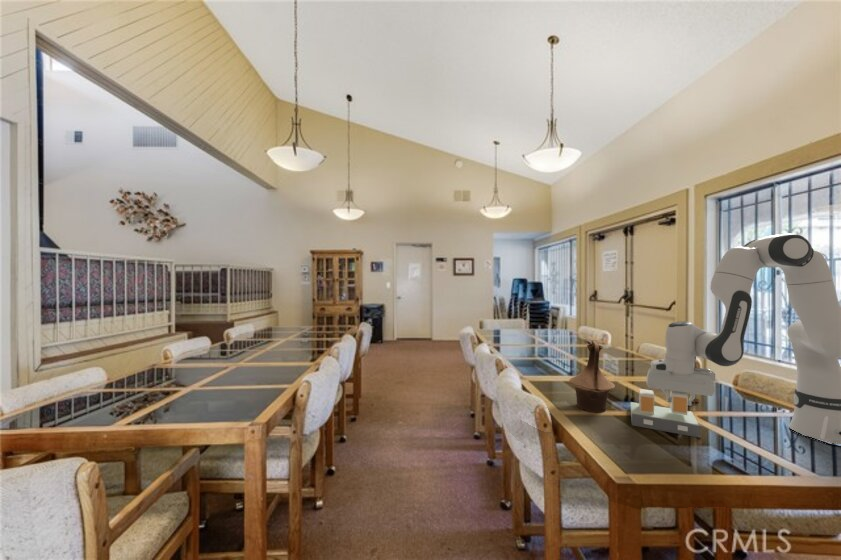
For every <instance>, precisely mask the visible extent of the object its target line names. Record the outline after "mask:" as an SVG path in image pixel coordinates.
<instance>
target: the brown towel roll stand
mask: <svg viewBox="0 0 841 560" xmlns="http://www.w3.org/2000/svg"><path fill="white" fill-rule="evenodd" d="M584 341H585V342H586V343H587V345H586V347H587V349H588V351H589V353H588V361H587V364H586V366H585V368H584V369H583V370H582V371H581V372H580V373H579V374H577V375H575V376H573V377H571V378H569V379H568V380H569V383H570V384H572V385H573V386H574V389H575V397H576V406H577V408H579V409H581V410H583V409H585V410H584V411H587V410H589V411H588V412H591V411H593V412H594V413H603V412H605V411H606V409H607V401H608V396H609V393H610V390H613V389H614V388H615V387H616V385H615V384H614V383H613V382H612V381H610V379H608V378H607V377H606V376H605V375H604V374H603V372H602V371H601V369H600V367H599V366H600V365H599V362H600V352H601V350H602V349H603V345H601V344H599V341H598V340H595V339H584ZM593 412H592V413H593Z"/></svg>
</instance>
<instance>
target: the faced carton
mask: <svg viewBox="0 0 841 560" xmlns="http://www.w3.org/2000/svg"><path fill="white" fill-rule="evenodd" d="M638 391H639V392H638V403H639V410H640V412H642V413H648V414H654V406H655V393H654V390H653V389H652V390H650V389H644V388H643V389H642V388H638Z"/></svg>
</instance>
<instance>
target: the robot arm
mask: <svg viewBox="0 0 841 560" xmlns="http://www.w3.org/2000/svg"><path fill="white" fill-rule="evenodd" d="M762 268H768V269H769V268H770V269H771V268H779V269H781V270H782V272H783V273H784V278H785V279H784V280H785V285H786V289H787V294H788V298H789V299H788V300H789V302H790V306H791V308H792V309H793V310H794V311H795V313H796V315H797V317H798V318H799V320H797V321H794V322H792V323H791V324H790V325H789V326H788V328H787V331H786V333H787V336H788V339H789V340H790V342H791V347H792V352H793V355H794V359H795V367H796V388H795V389H794V393H793V404H794V410H793V414H792V418H791V421H790V423H789V425H788V428H789V427H790V428H791V429H792V430H794V431H796V432H799V433H801V434H804V435H806V436H809V437H812V438H815V439H820V440H823V441H827V442H830V443H834V444H841V364H840V361H839V359H841V305H840V302H839V299H838V296H837V291H836V285H835V283H834V278H833V274H832V271H831V269H830V267H829V264H828V262H827V260H826V258H825V257H824V254H822V253H821V252H820V251H818V250H814V248H813V247H812V245H811V243H810V242H809V240H808V239H807V238H805V237H804V236H802V235H801V234H798V233H797V234H796V233H782V234H774V235H769V236H765V237H762V238H756V239H754V240H751V241H748V242H747V243H746V244H744V245H743V246H736V247H735V246H734V247H732V248H729V249H727V251H726V252H725V253H724V255H723V256H722V258H721V259H720V260H719V262H718V265H717V267H716V268H715V271H714V273H713V276H712V278H711V282H710V286H709V287H710V288H709V289H710V292H711V293H712V294H713V296H714V297H715V298H716V299H718V300H719V301H720V302H721V303H722V304H723V305H724V307H725V313H724V317H723V321H722V324H721V329H720V332H718V333H714V332H711V331H708V330H705V329H702V328H700V327H698V326H696V325H695V324H694V323H692V322H690V321H685V320H684V321H681V320H680V321H675V322H671V323H670V324H668V325H667V328H666V332H665V342H664V343H665V348H666V351H665V355H664V358H660V359H653V360H651V361H650V366H651V367H649V368H648V371H647V373H646V374H647V375H646V381H645V382H646V385H647V388H649V389H656V390H662V392H663V394H664V396H665V398H666V399H665V401H666V402H667V403H670V402H671V400H672V398H671V397H670V395H668V394H669V392H670V391H677V392H684V393H690V395H691V396H690V398H689V399H688V406H692V403H693V402H692V400H693V399H694V398H695V397H696V394H699V395H700V396H707V397H713V396H714V395H715V384H714V382H715V381H716V373H715V372H714V371H712V370H711V369H709V368H701V367H696V368H695V362H696V360H695V357H696V358H697V357H701V358H702V359H705V360H707V361H710V362H712V363H713V364H715V365H718V366H720V367H721V366H722V367H731V366H734V365H737V363H739V362H740V361H741V360H742V358H743V356H744V352H745V350H744V349H745V348H744V347H745V346H744V341H745V335H746V331H747V327H748V322H749V319H750V315H751V311H752V304H753V299H752V297H751V293H752V287H753V283H754V281H755V279H756V275H757V273H759V271H760V269H762ZM792 430H791V431H792ZM794 431H793V432H794ZM796 432H795V433H796ZM812 438H811V439H812ZM815 439H814V440H815ZM836 442H837V443H836Z"/></svg>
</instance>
